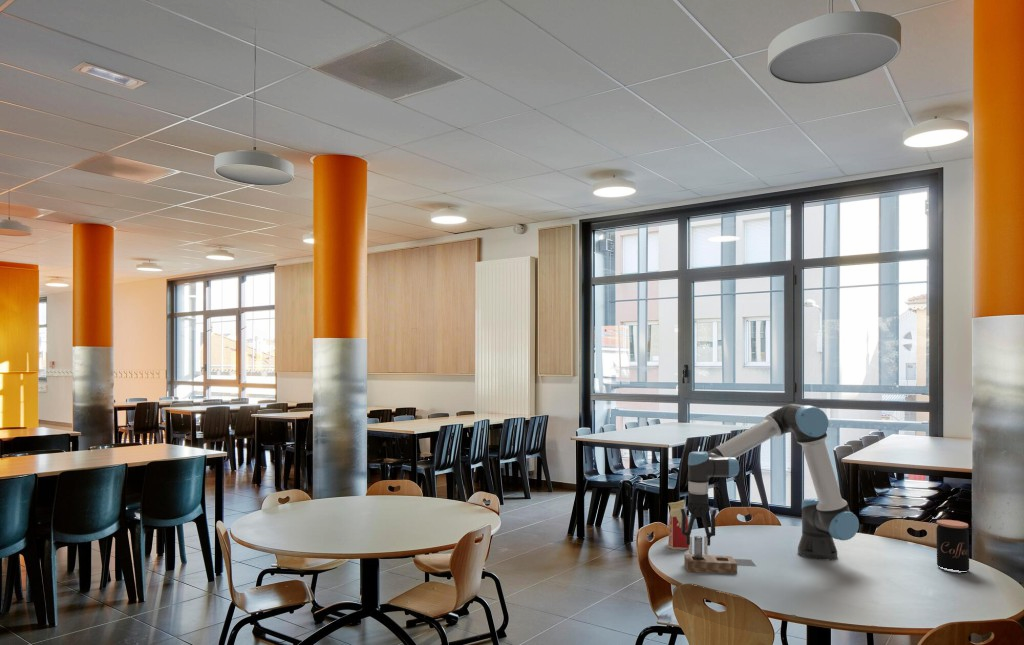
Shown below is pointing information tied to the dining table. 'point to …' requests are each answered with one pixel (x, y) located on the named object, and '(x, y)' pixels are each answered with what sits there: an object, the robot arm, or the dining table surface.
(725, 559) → the hole block
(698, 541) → the peg
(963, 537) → the coffee jar
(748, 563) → the mat
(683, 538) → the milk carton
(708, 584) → the dining table surface
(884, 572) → the dining table surface
